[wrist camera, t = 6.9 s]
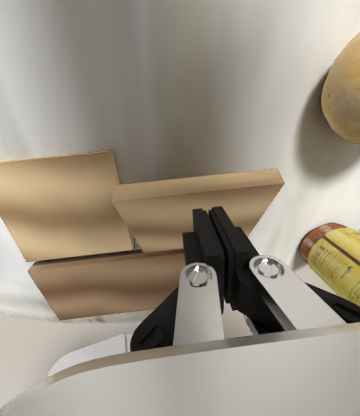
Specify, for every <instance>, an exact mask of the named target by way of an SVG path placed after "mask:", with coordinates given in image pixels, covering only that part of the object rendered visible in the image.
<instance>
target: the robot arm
mask: <svg viewBox="0 0 360 416" xmlns="http://www.w3.org/2000/svg"><path fill="white" fill-rule="evenodd" d="M192 214H193V230H194V231H193V232H184V233H182V237H183V248H184V256H185V264H186V267H184V268H183V270H182V271H181V274H180V281H179V286H178V287H177V288H176V289H175V290H174V291H173V292H172V293H171V294H170V295H169V296H168V297H167V298H166V299H165V300H164V301H163V302H162V303H161V304H160V305H159V306H158V307H157V308H156V309H155V310H154V311H153V312H152V313H151V314H150V315H149V316H148V317H147V318H146V319H145V320H144V321H143V322H142V323H141V324H140V325H139V326H138V328H137V329H136V330H135V331H134V333H131V334H128V335H125V333H122V334H120V335H117V336H114V337H111V338H109V339H106V340H103V341H100V342H98V343H95V344H92V345H90V346H87V347H84V348H81V349H78V350H76V351H73V352H70V353H69V354H67V355H65V356H63V357H62V358H60V359H59V360H58V361H57V362H56V363H55V364H54V366H53V367H52V368H51V369H50V371H49V372H48V374H47V377H46V378H45V379H43V380H41V381H40V382H38V383H36V384H35V385H33V386H31V387H29V388H28V389H26V390H25V391H23V392H22V393H20V394H19V395H17V396H16V397H15V398H14V399H12V400H11V401H9V402H8V403H7V404H5V406H3V407H2V408H1V409H0V416H360V306H358V305H356V304H354V303H353V302H351V301H349V300H346V299H344V298H341V297H339V296H337V295H334V294H332V293H329V292H327V291H324V290H322V289H320V288H317V287H315V286H312V285H310V284H308V283H305V282H303V281H302V280H301V279H300V278H299V277H298V276H297V275H296V274H295V273H294V272H293V271H292V270H291V269H290V268H289V267H288V266H287V265H286V264H285V263H283V262H282V261H281V260H279V259H277V258H275V257H272V256H267V255H259V254H258V252H257V251H256V249H255V248H254V246H253V245H252V243H251V242H250V240H249V239H248V237H247V236H246V234H245V233H244V231H243V230H242V228H241V227H239V226H238V227H235V226H234V225H233V223H232V221H231V220H230V218H229V217H228V215H227V213H226V212H225V210H224V209H223V207H222V206H218V207H212V209H211V210H208V214H207V211H206V210H203V209H202V208H199V209H192ZM224 299H225V302H226V303H230V305H231V308H232V310H238V311H239V312H241V313H243V314H244V318H245V321H246V323H247V325H248V326H249V328H250V330H251V332H252V334H253V336H244V337H237V338H229V339H224V332H223V324H222V317H221V315H222V314H223V309H224Z"/></svg>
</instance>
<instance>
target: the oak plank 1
mask: <svg viewBox="0 0 360 416" xmlns="http://www.w3.org/2000/svg"><path fill="white" fill-rule="evenodd" d="M114 185H121V184H120V180H119V176H118V172H117V168H116V164H115V160H114V156H113V152H112V150H109V151H99V152H89V153H79V154H69V155H59V156H49V157H39V158H29V159H19V160H9V161H0V216H1V218H2V220H3V221H4V223H5V225H6V227H7V229H8V230H9V232H10V234H11V236H12V237H13V239H14V241H15V243H16V244H17V246H18V248H19V250H20V251H21V253H22V255H23V257H24V258H25V260H26V262H31V261H40V260H49V259H58V258H66V257H75V256H84V255H93V254H101V253H110V252H119V251H127V250H133V248H134V244H135V241H134V237H133V235H132V233H131V232H130V230H129V228H128V227H127V225H126V224H125V222H124V220H123V219H122V217H121V216H120V214H119V212H118V211H117V209H116V208H115V206H114V204H113V203H112V195H113V186H114Z"/></svg>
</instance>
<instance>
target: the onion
mask: <svg viewBox="0 0 360 416" xmlns="http://www.w3.org/2000/svg"><path fill="white" fill-rule="evenodd" d="M321 106H322V110H323V114H324V116H325V118H326V120H327V121H328V123H329V125H330V127H331V129H332V130H333V131H334V132H336V133H337V134H338V135H340V136H341V137H342V138H344V139H346V140H348V141H350V142H353V143H358V144H360V33H358V34H357V35H356V36H355V37H354V38H353V39H352V40H351V41H350V42H349V43H348V44H347V46H346V47H345V48H344V49H343V51H342V52H341V53H340V54H339V56H338V57H337V58H336V60H335V61H334V63H333V65H332V67H331V69H330V71H329V73H328V76H327V78H326V81H325V83H324V86H323V89H322V95H321Z"/></svg>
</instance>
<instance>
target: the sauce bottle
mask: <svg viewBox="0 0 360 416" xmlns="http://www.w3.org/2000/svg"><path fill="white" fill-rule="evenodd" d="M300 253H301V256H302V258H303V259H304V261H305V262H307V263H308V264H309V266H310V268H311V269H312V270H313V271H314V272H315V273H316V274H317V275H318V276H319V277H320V278H322V280H324V282H325V283H326V284H327V285H328V286H329V287H330V288H331V289H332V290H333V291H334V292H335V293H336V294H337V295H339V296H340V297H341V298H344V299H346V300H349V301H351V302H353V303H354V304H356V305H358V306H360V233H359V232H358V231H356V230H354V229H350V228H347V227H346V226H343V225H341V224H337V223H328V224H325V225H322V226H320V227H318V228H316V229H314V230H312V231H311V232H310V233H309V234H308V235H306V237H305V238H304V240H303V241H302V243H301V246H300Z"/></svg>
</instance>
